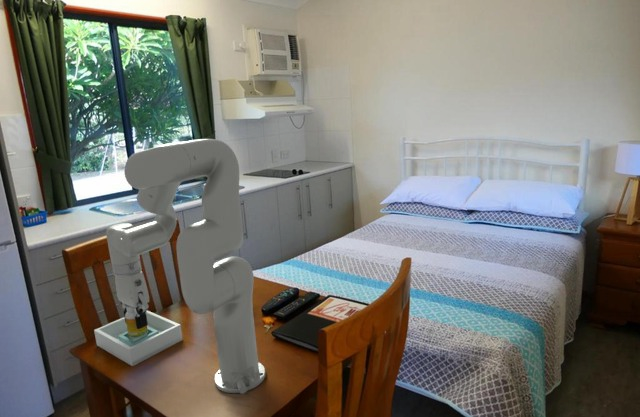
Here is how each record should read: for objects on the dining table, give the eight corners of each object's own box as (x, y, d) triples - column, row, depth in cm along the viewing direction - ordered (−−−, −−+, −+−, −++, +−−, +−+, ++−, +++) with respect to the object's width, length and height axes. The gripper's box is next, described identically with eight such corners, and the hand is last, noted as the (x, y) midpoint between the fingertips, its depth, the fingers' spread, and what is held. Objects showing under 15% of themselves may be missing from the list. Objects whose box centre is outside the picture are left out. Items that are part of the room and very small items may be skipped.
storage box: (182, 339, 130) (180, 324, 129) (132, 366, 118) (129, 349, 117) (145, 322, 143) (143, 308, 141) (96, 345, 130) (93, 330, 129)
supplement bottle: (141, 339, 127) (136, 309, 124) (124, 338, 128) (119, 308, 126) (151, 330, 132) (146, 300, 130) (135, 329, 133) (130, 300, 131)
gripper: (155, 267, 122) (164, 326, 127) (123, 257, 133) (133, 312, 137) (130, 277, 117) (140, 338, 121) (99, 265, 127) (109, 322, 131)
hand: (136, 323), depth 129 cm, fingers closed on supplement bottle, 5 cm apart
